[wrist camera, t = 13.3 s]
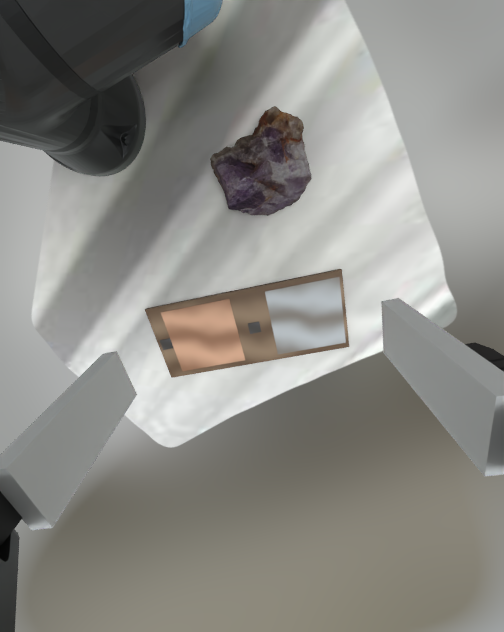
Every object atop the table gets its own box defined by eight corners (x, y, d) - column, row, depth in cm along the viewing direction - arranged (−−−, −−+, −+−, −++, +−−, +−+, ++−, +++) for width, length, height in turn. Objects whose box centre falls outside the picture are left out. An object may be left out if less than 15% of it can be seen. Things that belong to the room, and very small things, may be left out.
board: (146, 308, 47) (144, 310, 47) (340, 269, 44) (341, 270, 43) (172, 375, 52) (171, 377, 52) (348, 345, 49) (349, 346, 48)
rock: (198, 133, 32) (221, 193, 41) (221, 188, 29) (240, 238, 39) (292, 91, 31) (293, 162, 41) (325, 143, 29) (318, 205, 38)
